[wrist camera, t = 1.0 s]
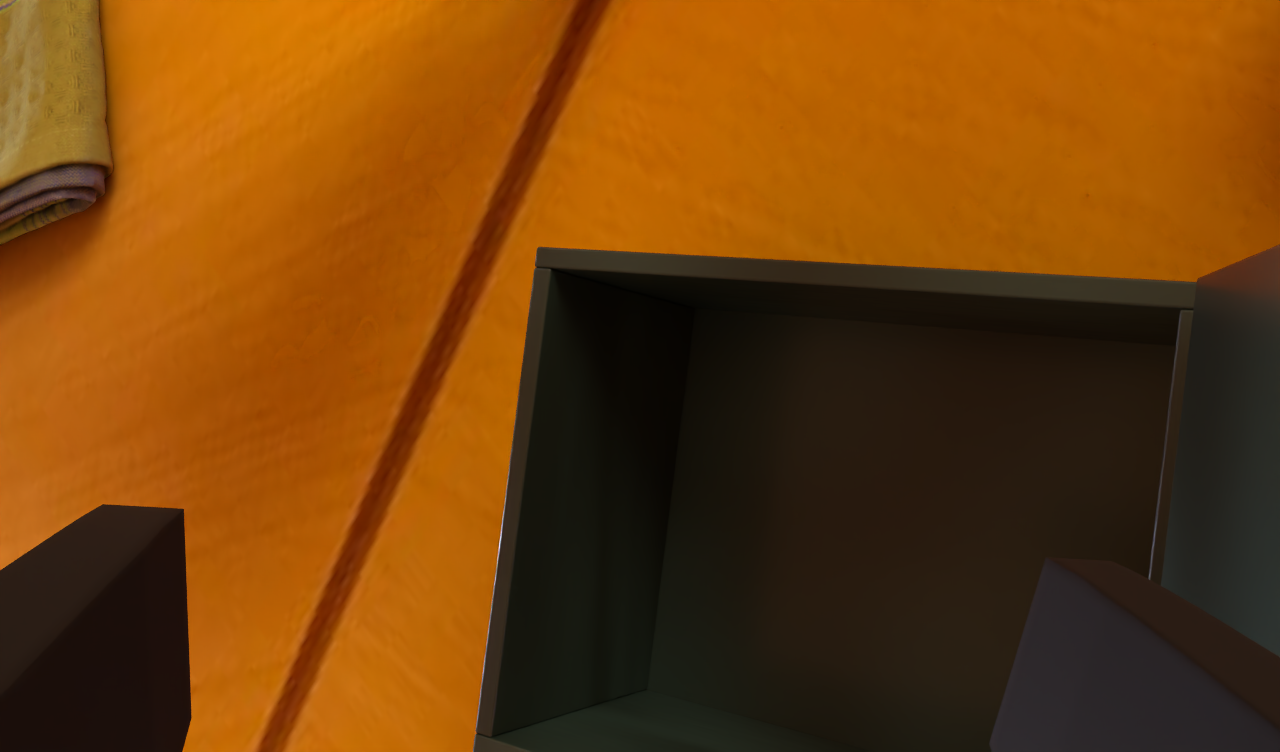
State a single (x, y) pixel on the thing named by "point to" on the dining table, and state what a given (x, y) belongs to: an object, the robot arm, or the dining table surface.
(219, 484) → the dining table surface
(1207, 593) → the carton flap
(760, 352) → the carton
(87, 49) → the dish towel
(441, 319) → the dining table surface
